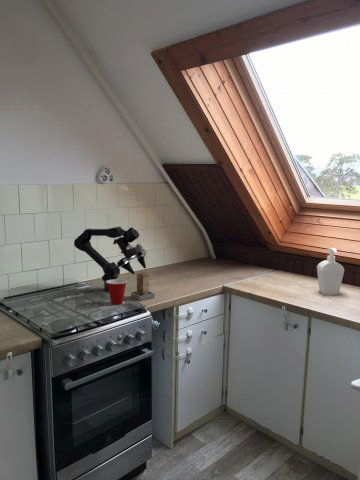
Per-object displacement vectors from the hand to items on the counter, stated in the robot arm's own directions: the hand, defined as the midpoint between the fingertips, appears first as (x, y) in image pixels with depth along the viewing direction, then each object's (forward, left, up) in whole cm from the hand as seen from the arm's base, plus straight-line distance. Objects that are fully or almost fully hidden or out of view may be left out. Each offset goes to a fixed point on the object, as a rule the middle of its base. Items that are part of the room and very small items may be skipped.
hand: (139, 271), depth 230 cm
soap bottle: (+87, -60, -13) cm, 107 cm away
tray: (-2, -6, -13) cm, 14 cm away
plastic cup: (-18, -6, -13) cm, 23 cm away
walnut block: (-2, -6, -13) cm, 14 cm away
